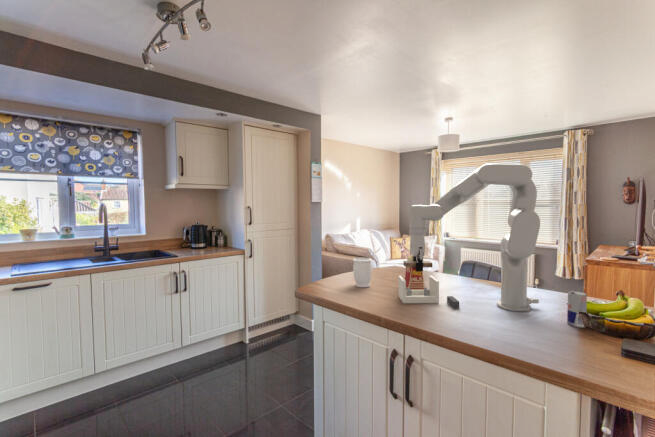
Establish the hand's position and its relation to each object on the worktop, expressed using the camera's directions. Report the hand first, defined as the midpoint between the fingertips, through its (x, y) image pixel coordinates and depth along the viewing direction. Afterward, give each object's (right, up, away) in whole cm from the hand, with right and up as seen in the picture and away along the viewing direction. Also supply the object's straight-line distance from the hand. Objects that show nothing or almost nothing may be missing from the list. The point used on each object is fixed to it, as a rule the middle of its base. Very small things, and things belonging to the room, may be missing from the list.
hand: (417, 269), depth 145 cm
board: (0, +1, 0) cm, 2 cm away
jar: (-23, -14, +27) cm, 38 cm away
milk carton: (+4, -14, +19) cm, 24 cm away
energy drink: (+49, -15, -32) cm, 60 cm away
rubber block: (+13, -15, -9) cm, 21 cm away
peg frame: (0, -14, +1) cm, 14 cm away
